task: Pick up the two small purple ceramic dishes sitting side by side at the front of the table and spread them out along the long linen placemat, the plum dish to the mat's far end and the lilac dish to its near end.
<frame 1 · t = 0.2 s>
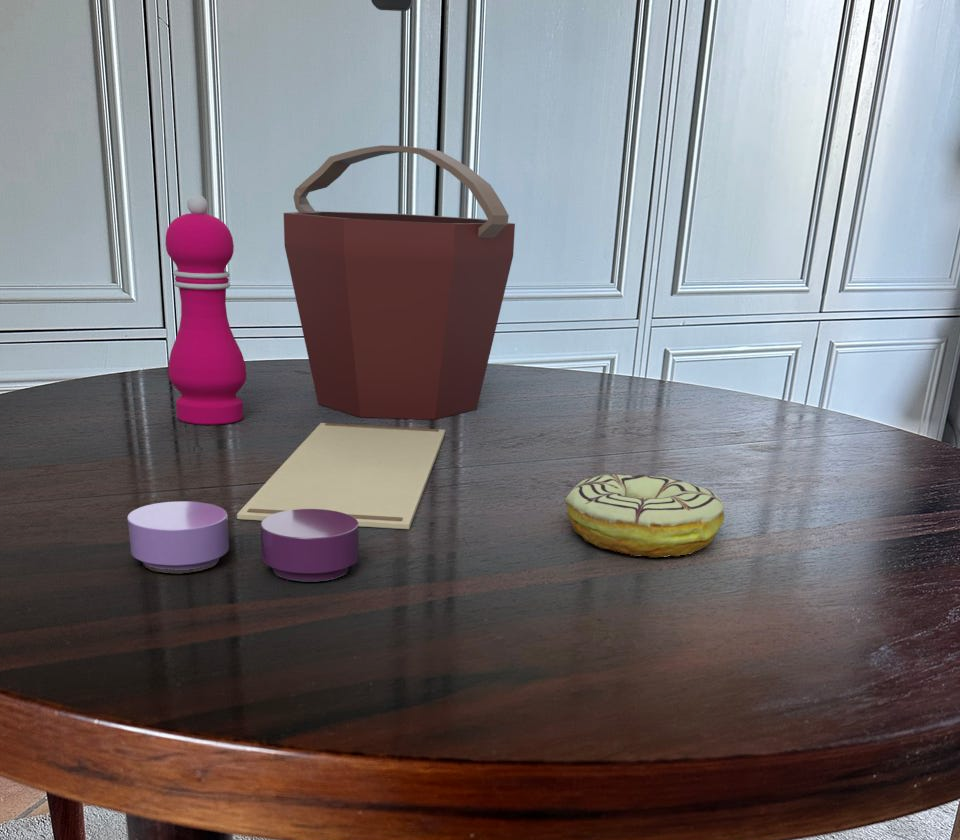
pepper mill: (210, 420, 100), on the table
placemat: (357, 469, 84), on the table
lilac dish: (181, 561, 63), on the table
plum dish: (310, 569, 63), on the table
bucket: (400, 404, 111), on the table
decorated donut: (640, 541, 71), on the table
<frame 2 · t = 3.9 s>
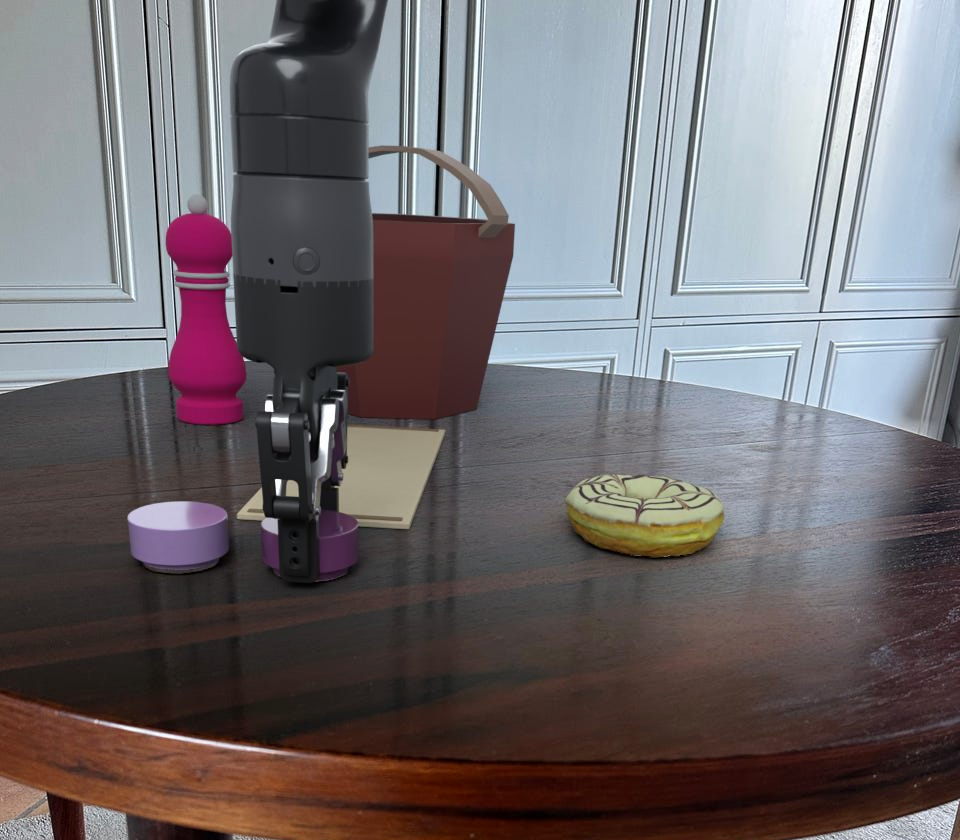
hand: (311, 560, 62), 1 cm above the table, tool pointing down, fingers closed on plum dish, 6 cm apart
plum dish: (311, 569, 63), on the table, touching gripper
everything else where it was.
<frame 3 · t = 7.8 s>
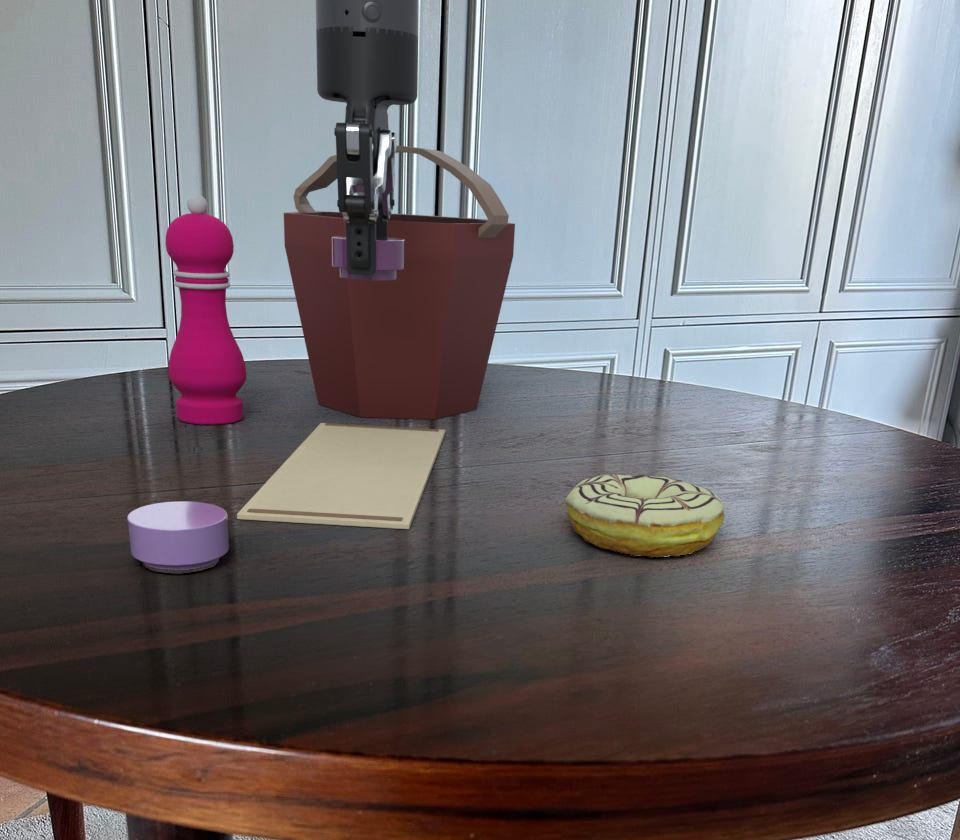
hand: (367, 270, 82), 15 cm above the table, tool pointing down, fingers closed on plum dish, 5 cm apart
plum dish: (368, 277, 83), point 15 cm above the table, touching gripper
everything else where it was.
when the fingers open (1 cm above the table, at t = 11.7 s): plum dish stays where it is, resting on placemat.
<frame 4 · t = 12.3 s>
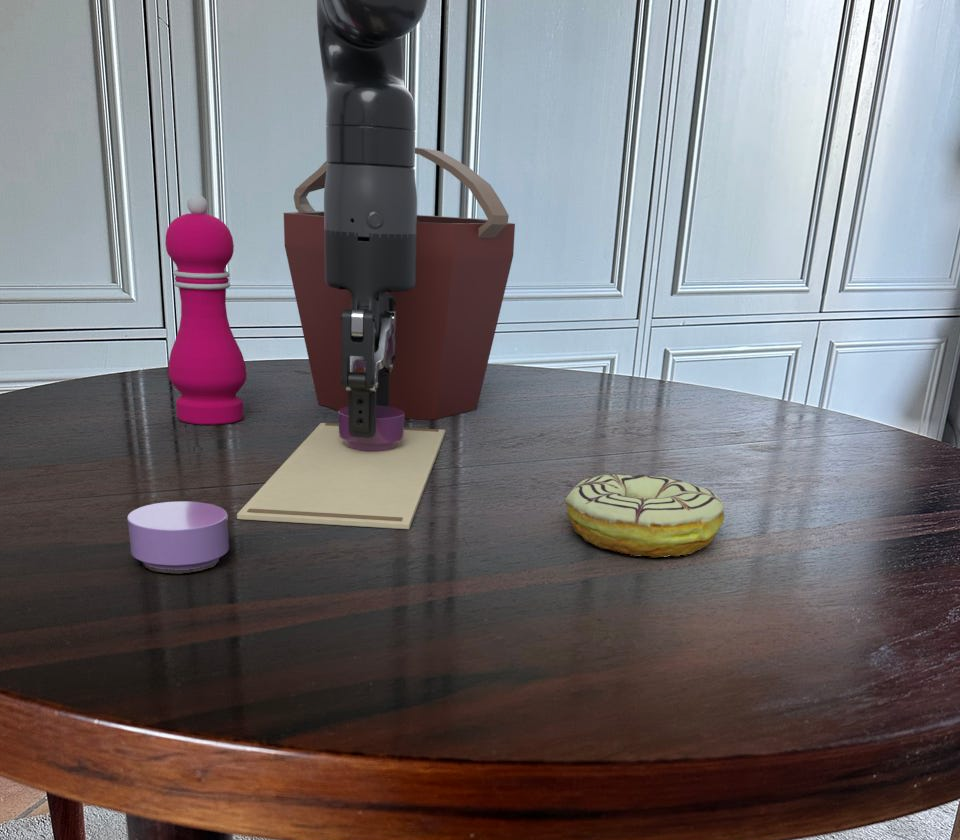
hand: (369, 425, 90), 2 cm above the table, tool pointing down, fingers open, 8 cm apart
plum dish: (371, 445, 91), resting on placemat
everything else where it was.
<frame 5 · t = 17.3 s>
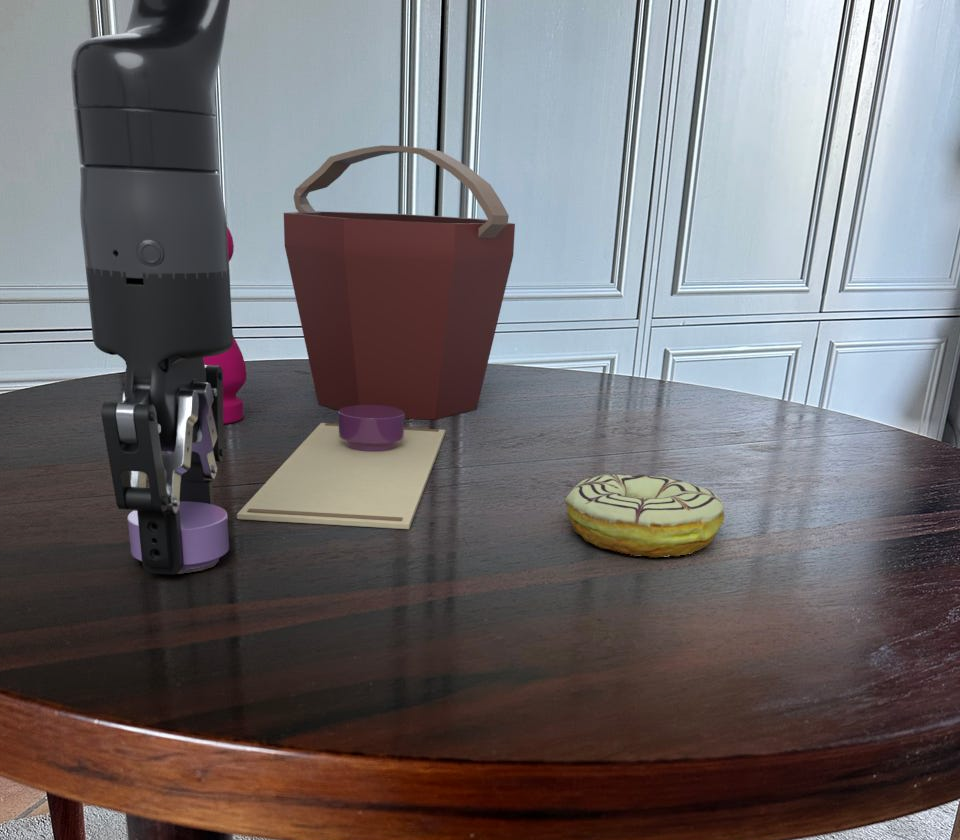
hand: (181, 553, 62), 1 cm above the table, tool pointing down, fingers closed on lilac dish, 5 cm apart
lilac dish: (181, 561, 63), on the table, touching gripper
everything else where it was.
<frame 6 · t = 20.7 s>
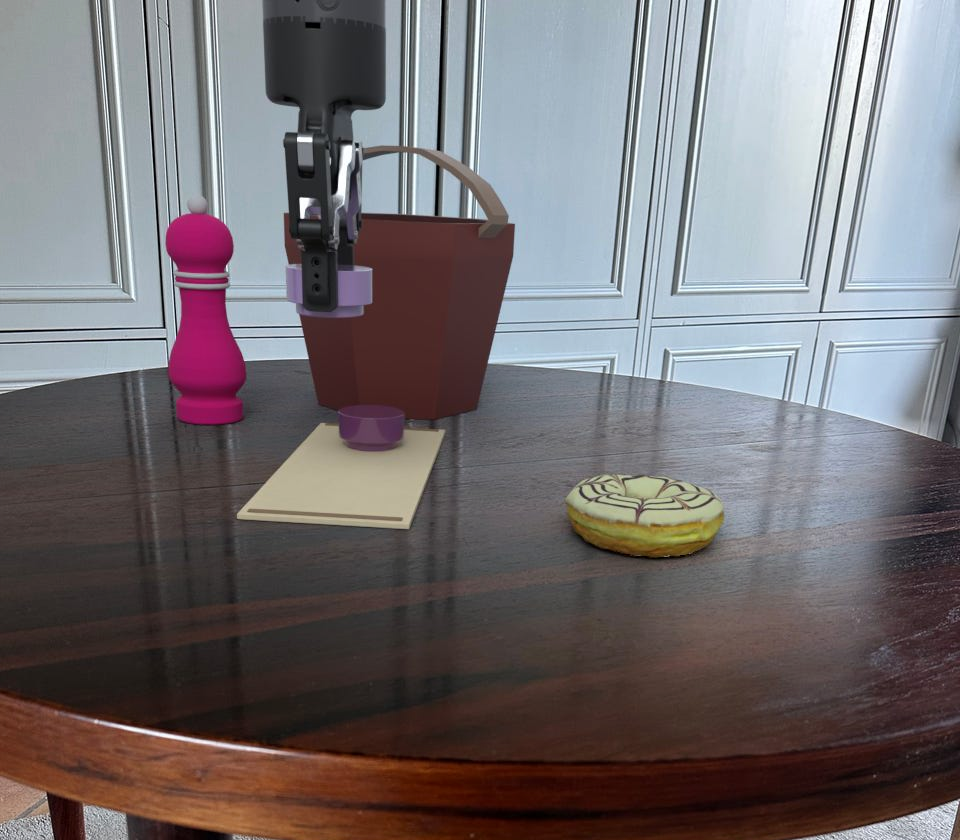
hand: (329, 304, 70), 14 cm above the table, tool pointing down, fingers closed on lilac dish, 5 cm apart
lilac dish: (330, 313, 70), point 13 cm above the table, touching gripper
everything else where it was.
when the fingers open (1 cm above the table, at t = 24.1 s): lilac dish stays where it is, resting on placemat.
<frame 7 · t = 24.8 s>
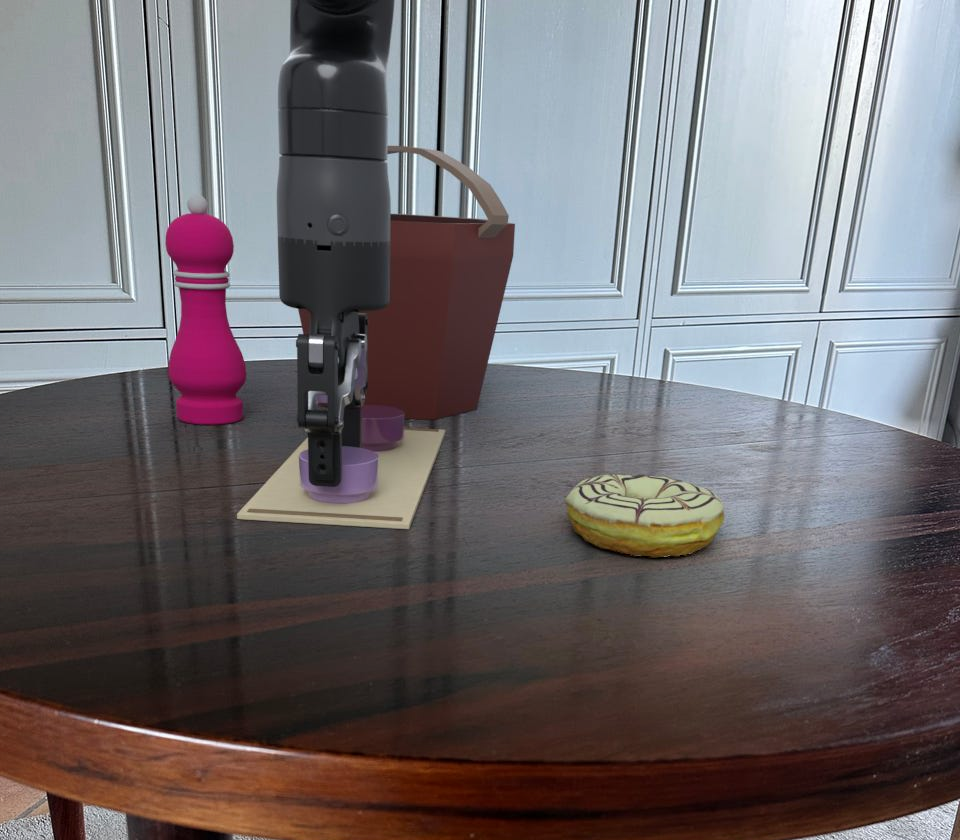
hand: (336, 469, 75), 2 cm above the table, tool pointing down, fingers open, 8 cm apart
lilac dish: (339, 494, 76), resting on placemat
everything else where it was.
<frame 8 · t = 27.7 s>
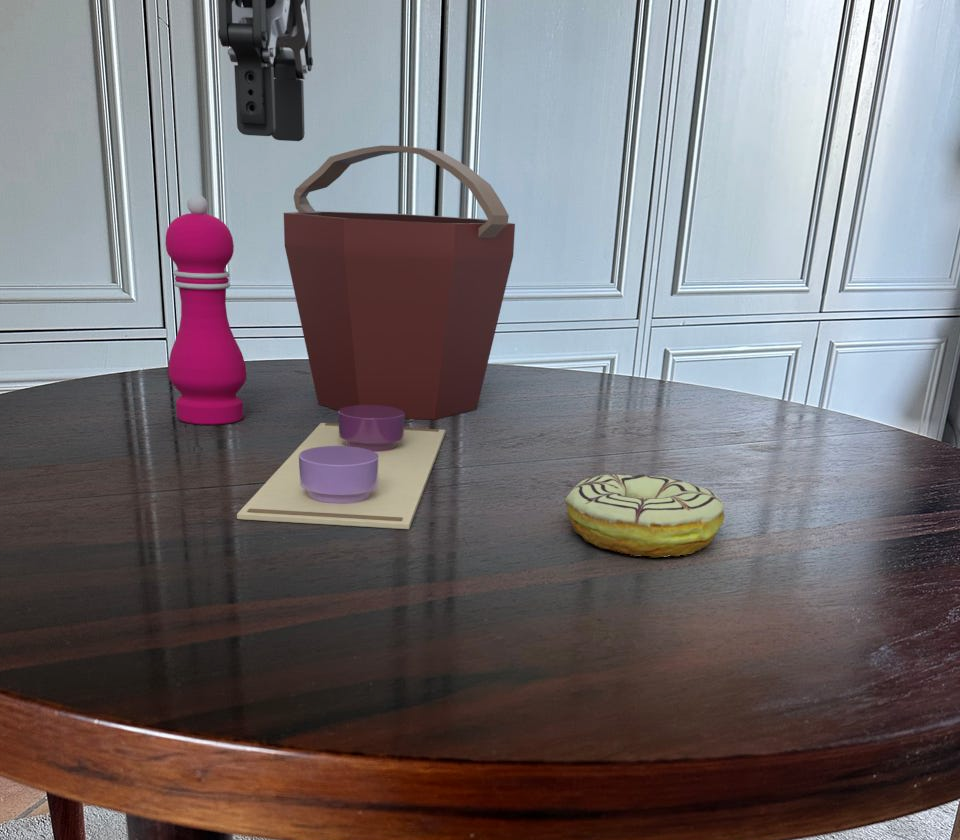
hand: (273, 138, 67), 24 cm above the table, tool pointing down, fingers open, 8 cm apart
nothing on the table moved.
at the end: plum dish inside the target area on the placemat (1.8 cm from its centre), point 0.4 cm above the placemat's base; lilac dish inside the target area on the placemat (0.3 cm from its centre), point 0.4 cm above the placemat's base; plum dish tilted 0° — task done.
